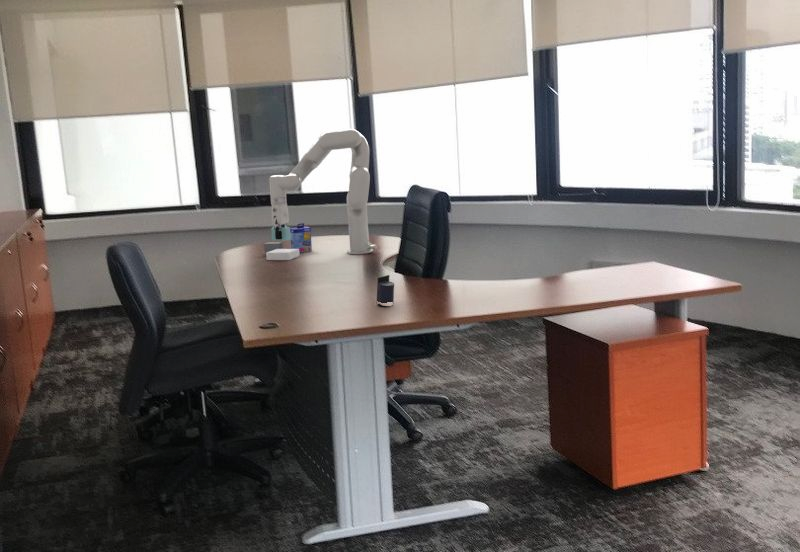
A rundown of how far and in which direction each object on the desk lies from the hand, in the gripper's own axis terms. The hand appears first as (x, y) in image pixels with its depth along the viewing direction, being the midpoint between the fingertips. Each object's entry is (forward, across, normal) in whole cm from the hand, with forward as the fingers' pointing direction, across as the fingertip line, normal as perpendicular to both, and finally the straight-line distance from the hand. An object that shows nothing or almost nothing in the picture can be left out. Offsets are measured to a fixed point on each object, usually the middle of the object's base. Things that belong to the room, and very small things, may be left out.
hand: (281, 238), depth 442 cm
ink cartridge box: (+10, +19, -1) cm, 22 cm away
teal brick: (+1, 0, 0) cm, 1 cm away
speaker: (+10, -97, -89) cm, 132 cm away
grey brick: (+10, +10, +10) cm, 17 cm away
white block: (+10, 0, 0) cm, 10 cm away
